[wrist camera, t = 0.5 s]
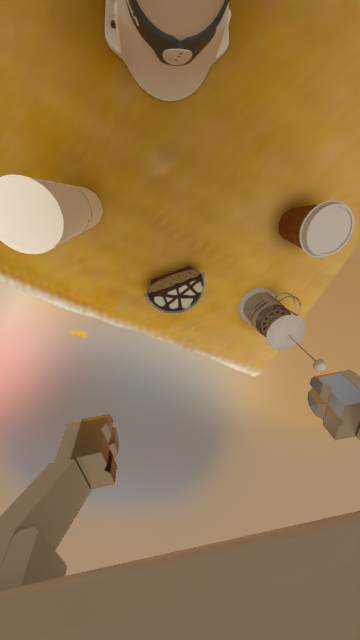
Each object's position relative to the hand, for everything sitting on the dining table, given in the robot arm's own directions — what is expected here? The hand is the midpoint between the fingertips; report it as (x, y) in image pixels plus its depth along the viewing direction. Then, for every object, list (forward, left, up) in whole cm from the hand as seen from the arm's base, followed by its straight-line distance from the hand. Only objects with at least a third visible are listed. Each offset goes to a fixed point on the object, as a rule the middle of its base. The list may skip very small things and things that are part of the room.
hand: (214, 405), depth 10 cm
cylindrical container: (-6, -14, -46) cm, 48 cm away
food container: (+10, +3, -46) cm, 47 cm away
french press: (+16, +24, -46) cm, 54 cm away
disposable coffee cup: (-2, +29, -46) cm, 54 cm away
